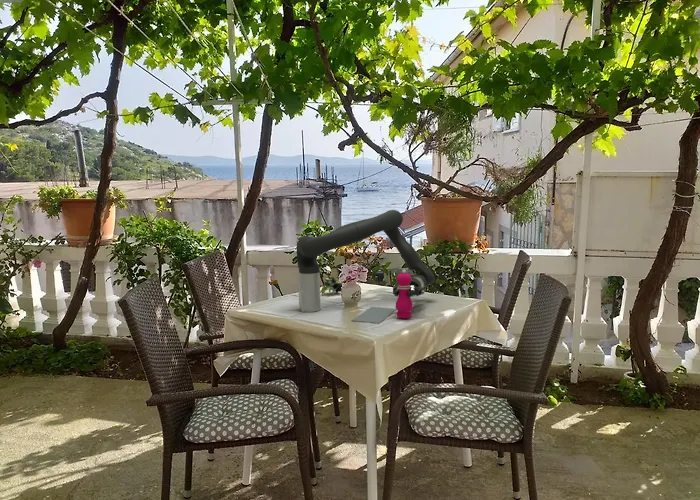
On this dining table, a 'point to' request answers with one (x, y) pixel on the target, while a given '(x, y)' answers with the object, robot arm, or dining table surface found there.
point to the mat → (375, 315)
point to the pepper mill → (404, 296)
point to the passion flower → (332, 285)
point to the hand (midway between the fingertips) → (402, 294)
